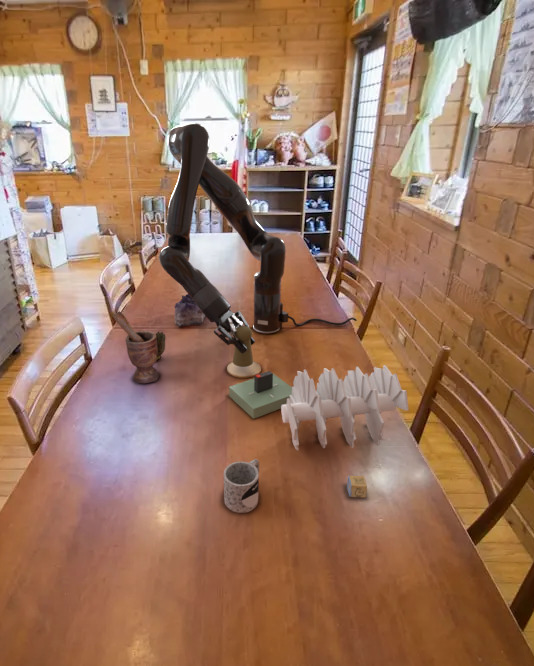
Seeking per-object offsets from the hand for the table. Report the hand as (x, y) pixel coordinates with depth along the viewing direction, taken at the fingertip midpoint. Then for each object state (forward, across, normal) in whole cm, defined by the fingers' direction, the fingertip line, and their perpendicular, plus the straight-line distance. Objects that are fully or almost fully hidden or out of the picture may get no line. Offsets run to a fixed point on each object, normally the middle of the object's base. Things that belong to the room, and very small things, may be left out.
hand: (248, 347), depth 131 cm
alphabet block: (+33, -35, -22) cm, 53 cm away
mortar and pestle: (-13, -16, +25) cm, 33 cm away
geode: (-19, +28, +30) cm, 45 cm away
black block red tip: (+10, -12, -3) cm, 16 cm away
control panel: (+12, -12, -1) cm, 17 cm away
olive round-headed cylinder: (+2, 0, +5) cm, 6 cm away
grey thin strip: (+19, -45, -8) cm, 49 cm away
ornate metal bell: (-15, -5, +27) cm, 31 cm away
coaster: (+4, 0, +7) cm, 8 cm away
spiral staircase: (+27, -20, -16) cm, 37 cm away
